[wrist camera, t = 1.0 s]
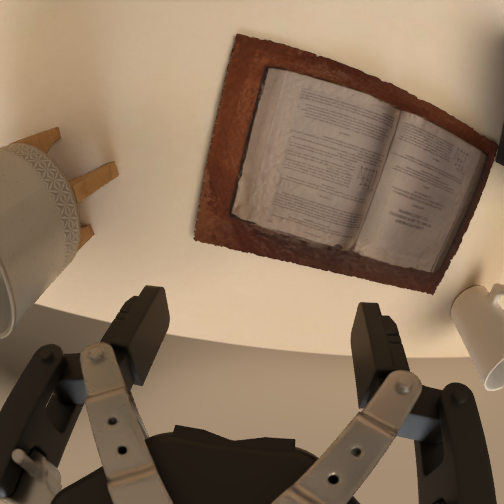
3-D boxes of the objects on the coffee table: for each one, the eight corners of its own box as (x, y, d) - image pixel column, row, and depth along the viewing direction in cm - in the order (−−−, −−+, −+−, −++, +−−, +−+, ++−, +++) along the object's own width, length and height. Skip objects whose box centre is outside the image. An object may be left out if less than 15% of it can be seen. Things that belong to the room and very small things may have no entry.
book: (430, 292, 34) (446, 313, 30) (193, 237, 32) (183, 257, 28) (492, 135, 26) (517, 142, 22) (237, 36, 24) (233, 25, 20)
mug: (475, 325, 36) (510, 388, 26) (440, 323, 36) (473, 393, 26) (507, 264, 31) (556, 322, 21) (472, 257, 31) (523, 322, 21)
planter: (52, 244, 35) (-37, 336, 19) (17, 148, 29) (-99, 209, 13) (136, 225, 33) (44, 342, 17) (99, 108, 27) (-43, 154, 11)
